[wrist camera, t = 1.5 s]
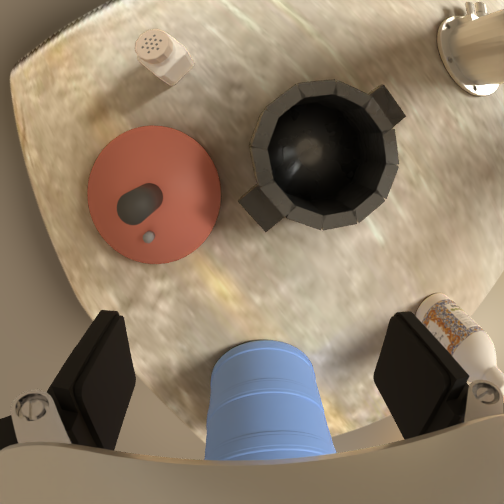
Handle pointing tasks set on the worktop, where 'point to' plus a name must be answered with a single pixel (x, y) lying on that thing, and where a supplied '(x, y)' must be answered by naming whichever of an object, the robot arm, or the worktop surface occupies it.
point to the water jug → (265, 405)
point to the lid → (154, 194)
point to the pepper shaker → (163, 55)
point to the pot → (323, 155)
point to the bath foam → (461, 338)
